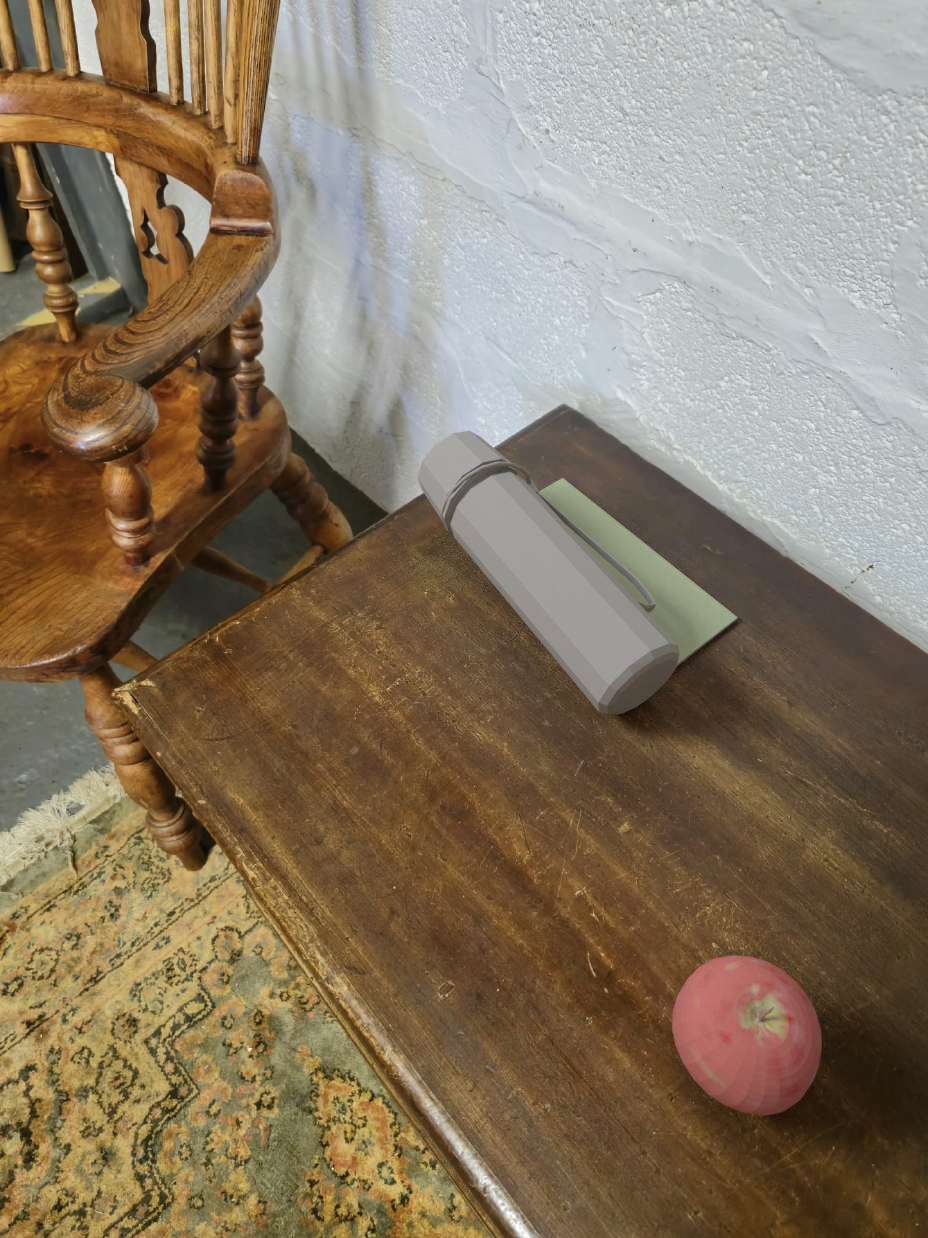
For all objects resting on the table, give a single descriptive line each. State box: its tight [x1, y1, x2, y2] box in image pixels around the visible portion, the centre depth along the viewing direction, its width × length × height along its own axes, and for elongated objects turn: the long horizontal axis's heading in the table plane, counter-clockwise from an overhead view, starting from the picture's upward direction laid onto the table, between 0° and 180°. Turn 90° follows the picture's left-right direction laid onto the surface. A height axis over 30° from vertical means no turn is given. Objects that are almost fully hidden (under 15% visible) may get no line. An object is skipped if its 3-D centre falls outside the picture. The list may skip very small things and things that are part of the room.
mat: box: [539, 477, 739, 668], centre depth 69 cm, size 20×12×1 cm, turn 40°
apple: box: [671, 954, 823, 1117], centre depth 45 cm, size 7×7×8 cm
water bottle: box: [417, 430, 679, 716], centre depth 64 cm, size 9×8×25 cm
